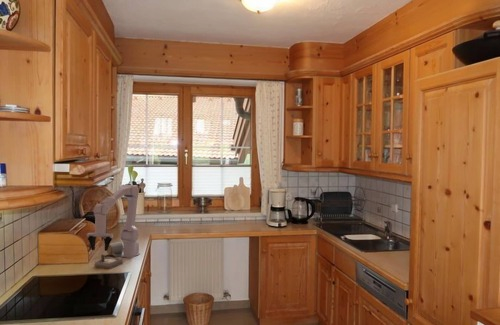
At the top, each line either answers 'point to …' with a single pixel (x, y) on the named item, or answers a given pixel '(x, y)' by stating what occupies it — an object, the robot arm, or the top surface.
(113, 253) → the ceramic mug
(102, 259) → the dial
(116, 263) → the dial plate
